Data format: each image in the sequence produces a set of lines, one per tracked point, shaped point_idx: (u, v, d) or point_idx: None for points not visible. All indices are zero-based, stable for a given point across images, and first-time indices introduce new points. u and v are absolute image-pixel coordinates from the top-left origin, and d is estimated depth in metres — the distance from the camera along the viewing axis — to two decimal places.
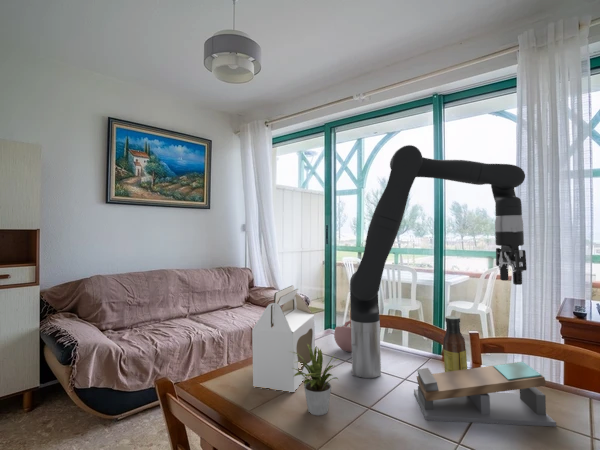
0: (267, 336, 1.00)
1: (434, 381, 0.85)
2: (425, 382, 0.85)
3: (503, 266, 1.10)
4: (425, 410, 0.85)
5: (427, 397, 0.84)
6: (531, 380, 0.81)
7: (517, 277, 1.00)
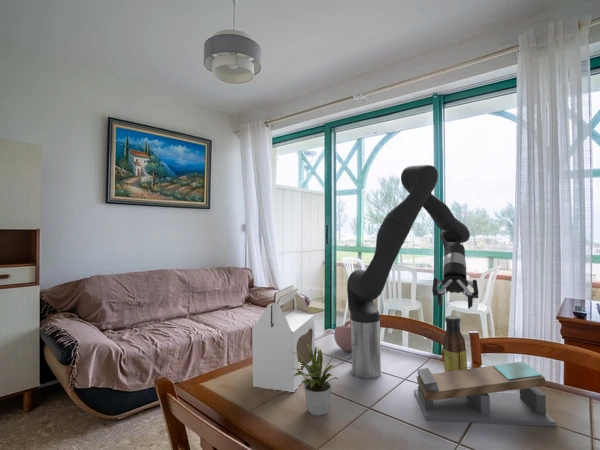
0: (267, 336, 1.00)
1: (434, 381, 0.85)
2: (425, 382, 0.85)
3: (441, 293, 1.17)
4: (425, 410, 0.85)
5: (427, 397, 0.84)
6: (531, 380, 0.81)
7: (472, 300, 1.11)
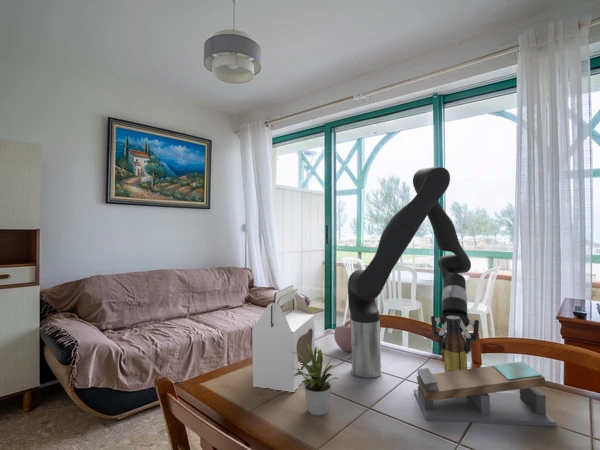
0: (267, 336, 1.00)
1: (434, 381, 0.85)
2: (425, 382, 0.85)
3: None
4: (425, 410, 0.85)
5: (427, 397, 0.84)
6: (531, 380, 0.81)
7: (470, 344, 0.99)
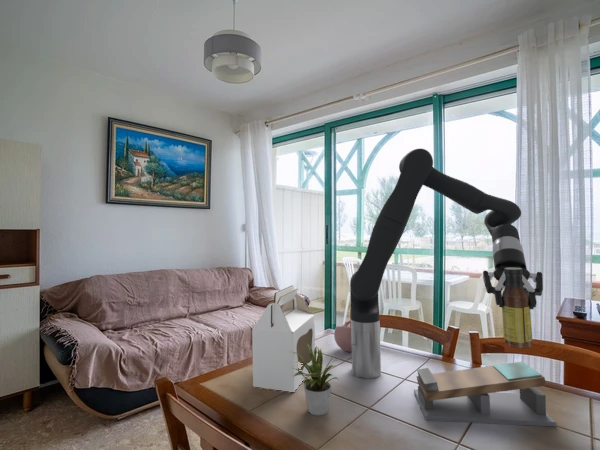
0: (267, 336, 1.00)
1: (434, 381, 0.85)
2: (425, 382, 0.85)
3: None
4: (425, 410, 0.85)
5: (427, 397, 0.84)
6: (531, 380, 0.81)
7: (535, 299, 0.85)
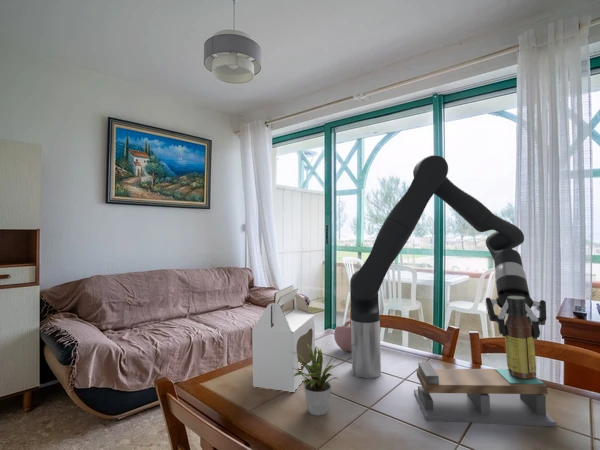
0: (267, 336, 1.00)
1: (436, 374, 0.85)
2: (426, 374, 0.85)
3: None
4: (425, 410, 0.85)
5: (426, 389, 0.84)
6: (533, 386, 0.81)
7: (539, 329, 0.84)
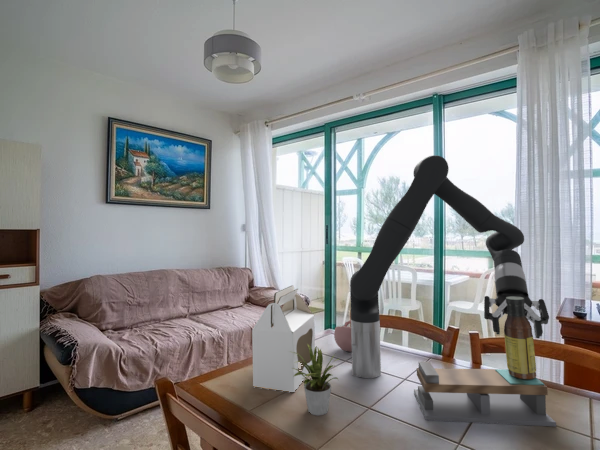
0: (267, 336, 1.00)
1: (436, 374, 0.85)
2: (427, 374, 0.85)
3: None
4: (425, 410, 0.85)
5: (426, 388, 0.84)
6: (533, 387, 0.81)
7: (541, 328, 0.84)
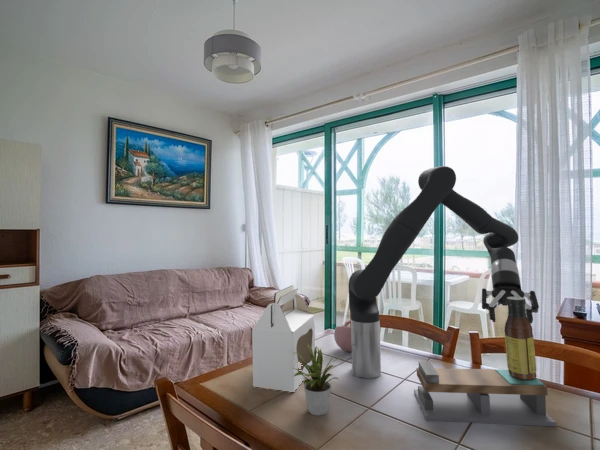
0: (267, 336, 1.00)
1: (436, 374, 0.85)
2: (427, 373, 0.85)
3: None
4: (425, 410, 0.85)
5: (426, 388, 0.84)
6: (533, 387, 0.81)
7: (532, 316, 0.95)
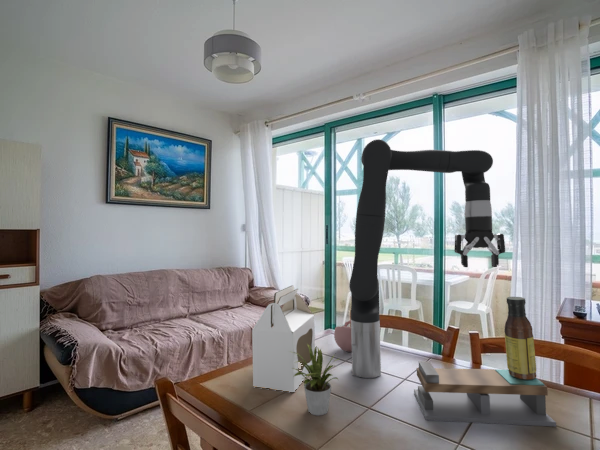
0: (267, 336, 1.00)
1: (436, 374, 0.85)
2: (427, 373, 0.85)
3: None
4: (425, 410, 0.85)
5: (426, 388, 0.84)
6: (533, 387, 0.81)
7: None
